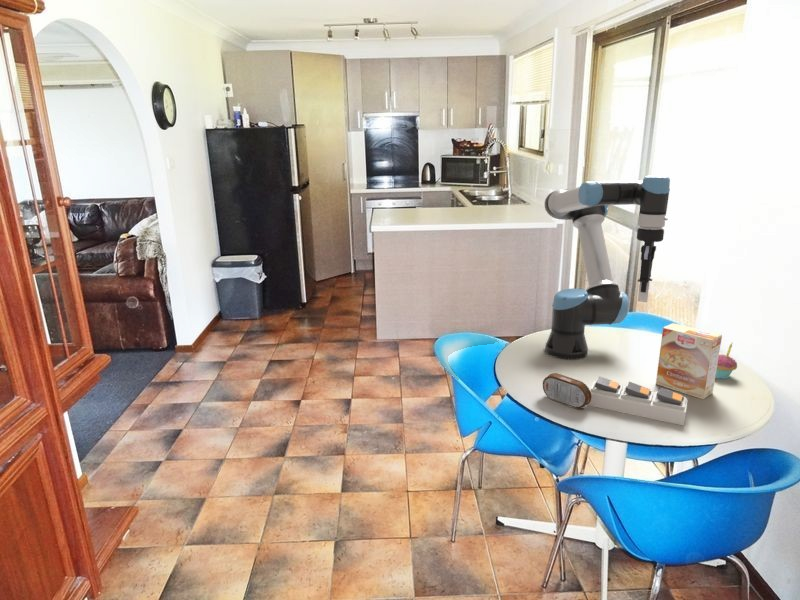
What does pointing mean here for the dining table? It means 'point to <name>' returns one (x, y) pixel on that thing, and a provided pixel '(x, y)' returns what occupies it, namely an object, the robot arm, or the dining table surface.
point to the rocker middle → (637, 390)
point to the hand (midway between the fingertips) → (642, 301)
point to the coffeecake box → (688, 360)
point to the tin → (566, 390)
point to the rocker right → (669, 397)
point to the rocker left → (606, 385)
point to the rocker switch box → (638, 405)
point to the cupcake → (725, 365)
